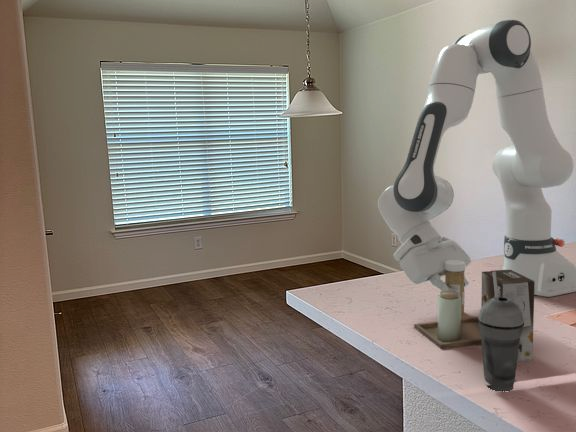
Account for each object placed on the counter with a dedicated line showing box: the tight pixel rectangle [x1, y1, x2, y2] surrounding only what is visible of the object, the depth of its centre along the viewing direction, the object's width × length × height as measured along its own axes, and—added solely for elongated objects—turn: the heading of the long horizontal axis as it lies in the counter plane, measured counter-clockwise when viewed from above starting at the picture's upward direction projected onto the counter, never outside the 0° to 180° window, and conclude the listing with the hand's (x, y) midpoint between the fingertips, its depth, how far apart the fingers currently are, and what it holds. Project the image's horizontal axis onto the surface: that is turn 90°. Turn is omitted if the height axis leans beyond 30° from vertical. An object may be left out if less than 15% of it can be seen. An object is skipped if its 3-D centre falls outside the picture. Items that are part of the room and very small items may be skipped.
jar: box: [437, 290, 462, 342], centre depth 107 cm, size 5×5×10 cm
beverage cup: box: [477, 270, 524, 393], centre depth 88 cm, size 7×7×20 cm
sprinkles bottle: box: [444, 260, 466, 317], centre depth 122 cm, size 5×5×14 cm
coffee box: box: [480, 269, 535, 363], centre depth 100 cm, size 9×6×16 cm
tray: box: [413, 316, 481, 350], centre depth 111 cm, size 16×12×2 cm
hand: (457, 289), depth 122 cm, fingers open, 5 cm apart
